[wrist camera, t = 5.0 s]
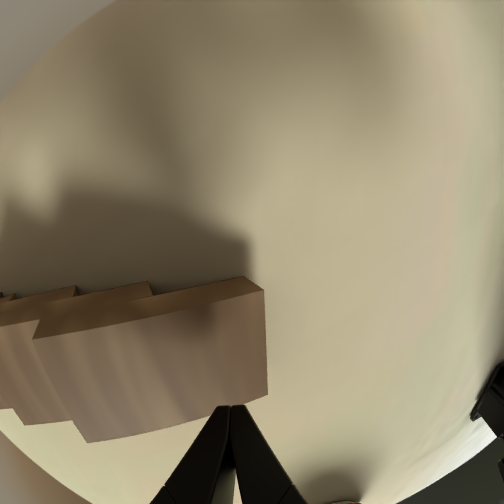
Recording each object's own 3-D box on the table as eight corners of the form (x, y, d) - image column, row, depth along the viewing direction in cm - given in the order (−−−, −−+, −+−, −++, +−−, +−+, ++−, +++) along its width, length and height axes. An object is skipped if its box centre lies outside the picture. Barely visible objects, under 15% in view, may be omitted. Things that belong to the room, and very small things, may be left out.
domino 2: (152, 295, 10) (-28, 332, 6) (179, 396, 11) (24, 425, 8) (147, 281, 11) (-16, 315, 8) (170, 376, 12) (28, 403, 9)
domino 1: (263, 289, 10) (31, 339, 6) (267, 394, 11) (87, 443, 8) (243, 276, 11) (40, 317, 8) (250, 374, 13) (85, 417, 9)
